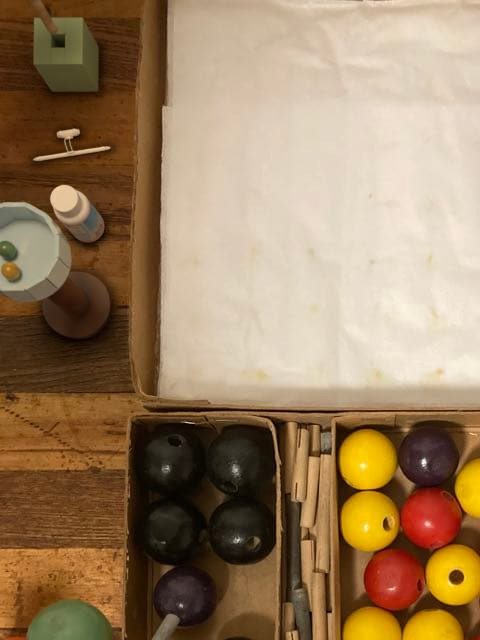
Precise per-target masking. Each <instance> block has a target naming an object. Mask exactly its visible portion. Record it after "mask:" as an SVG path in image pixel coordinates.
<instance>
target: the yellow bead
mask: <svg viewBox="0 0 480 640" xmlns="http://www.w3.org/2000/svg"><path fill="white" fill-rule="evenodd" d="M1 273H2V275H3V276H4V277H5V278H6V279H8V280H15V279H17V278H18V277H19V275H20V270H19V267H18V266H17V265H16V264H14V263H12V262H6V263H4V264H3V265H2V267H1Z"/></svg>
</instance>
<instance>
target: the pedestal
mask: <svg viewBox="0 0 480 640" xmlns="http://www.w3.org/2000/svg"><path fill="white" fill-rule="evenodd" d="M112 300H113V299H112V296H111V293H110V291H109V289H108V288H107V286H106V285H105V284H104V283H103V281H102V280H100V279H99V278H98V277H97V276H96V275H94V274H92V273H89V272H86V271H82V270H81V271H80V270H73V271H69V274H68V277H67V278H66V280H65V282H64V283H63V285H62V286H61V287H60V288H59V289H58V290H57V291H56V292H55V293H53V294H52V295H50V296H49V297H47V298H45V299H42V300H41V309H42V314H43V317H44V319H45V321H46V323H47V324H48V326H49V327H50V328H51V329H52V330H54V331H55V332H56V333H57V334H58V335H60V336H63V337H65V338H68V339H70V340H71V339H73V340H83V339H88V338H91V337H92V336H95V335H97V334H98V333H100V332H101V331H102V330H103V329H104V328H105V327H106V326H107V324H108V322H109V320H110V318H111V315H112V311H113V301H112Z"/></svg>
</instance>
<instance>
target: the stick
mask: <svg viewBox="0 0 480 640" xmlns="http://www.w3.org/2000/svg"><path fill="white" fill-rule="evenodd" d="M28 1H29V3H30V4H31V6H32V8H33V10H34V11H35V13H36V14H37V16H38V18H40V19H41V21H42V22H43V24H44V26H45V27H46V29H47V30H48V32H49V33H50V34H51V35H54V34H56V33H57V31H58V29H57V27H56V25H55V24H54V22H53V20H52V19H51V18H52V17H51V15H50V13H49V12H48V10H47V8H46V6H45V5H44V4H43V2H42V0H28Z"/></svg>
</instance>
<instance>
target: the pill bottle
mask: <svg viewBox="0 0 480 640" xmlns="http://www.w3.org/2000/svg"><path fill="white" fill-rule="evenodd" d="M49 201H50V204H51V206H52V208H53V212H54V215H55V216H56V218H57V219H58V220H59V222H60V223H61V224H62V225H63V226H64V227H65V228H66V229H67V230H68V231H69V232H70V233H71V235H72V236H74V238H75V239H76V240H78V241H80V242H82V243H93V242H95V241H97V240H99V239H100V238H101V237H102V235H103V234H104V231H105V221H104V218H103V217H102V215H101V214H100V213H99V212H98V210H97V209H96V208H95V206H94V205H93V203H92V202H91V201H90V200H89V198H88V197H87V196H86V195H85V194H84V193H83V192H82V191H79V190H77V189H75V188H74V187H72V186H70V185H67V184H61V185H58V186H57V187H55V188H54V189H53V190H52V192H51V194H50V199H49Z"/></svg>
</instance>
